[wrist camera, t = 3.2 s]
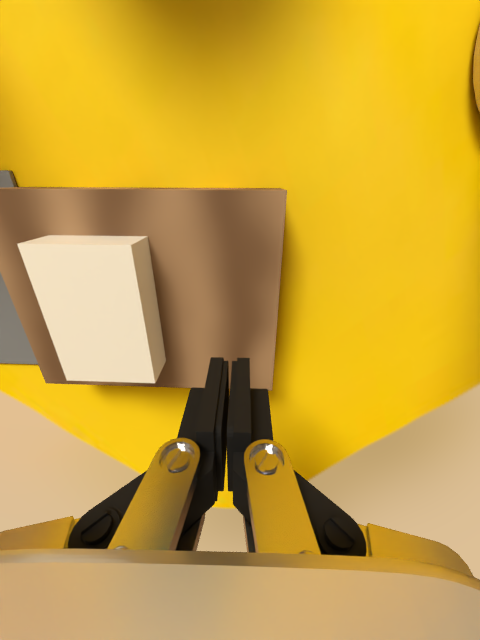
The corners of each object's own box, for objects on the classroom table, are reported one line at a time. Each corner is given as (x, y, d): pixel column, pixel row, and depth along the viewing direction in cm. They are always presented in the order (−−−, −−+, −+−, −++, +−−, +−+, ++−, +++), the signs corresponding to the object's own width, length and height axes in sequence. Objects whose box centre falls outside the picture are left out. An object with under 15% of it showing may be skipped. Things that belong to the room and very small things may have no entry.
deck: (280, 188, 18) (286, 190, 15) (269, 360, 25) (272, 390, 21) (20, 187, 19) (-34, 188, 15) (75, 354, 25) (46, 383, 22)
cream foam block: (147, 236, 16) (130, 245, 14) (166, 361, 20) (155, 383, 18) (49, 235, 16) (16, 243, 14) (87, 358, 20) (66, 380, 18)
